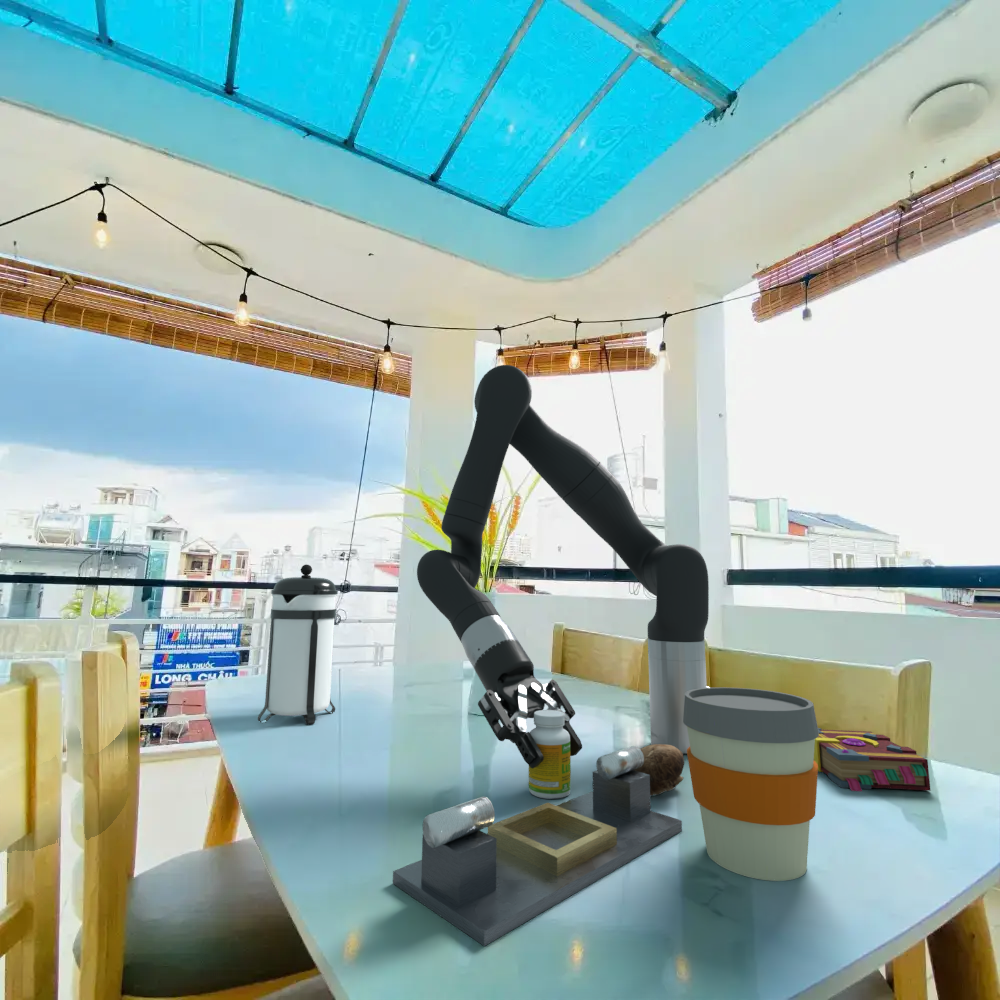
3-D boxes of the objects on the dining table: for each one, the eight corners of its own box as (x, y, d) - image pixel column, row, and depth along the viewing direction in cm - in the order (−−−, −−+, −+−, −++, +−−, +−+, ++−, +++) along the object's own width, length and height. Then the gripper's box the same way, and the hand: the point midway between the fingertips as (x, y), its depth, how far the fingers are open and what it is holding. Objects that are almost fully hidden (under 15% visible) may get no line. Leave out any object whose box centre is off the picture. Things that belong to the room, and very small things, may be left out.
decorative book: (874, 760, 88) (871, 726, 89) (939, 798, 72) (935, 757, 73) (797, 756, 89) (795, 723, 90) (844, 793, 74) (841, 752, 74)
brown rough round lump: (699, 760, 75) (672, 722, 75) (701, 804, 68) (671, 762, 68) (648, 780, 79) (622, 744, 78) (644, 824, 71) (615, 785, 71)
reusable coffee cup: (855, 867, 53) (842, 702, 56) (779, 907, 47) (768, 717, 49) (737, 820, 64) (730, 683, 66) (661, 847, 57) (656, 693, 59)
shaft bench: (594, 798, 70) (593, 736, 71) (684, 829, 62) (681, 757, 63) (387, 885, 50) (391, 795, 51) (479, 949, 41) (480, 839, 42)
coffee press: (352, 719, 110) (360, 564, 114) (266, 730, 101) (277, 562, 105) (325, 704, 124) (332, 566, 129) (247, 712, 115) (257, 564, 120)
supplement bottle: (569, 801, 69) (568, 718, 71) (525, 798, 70) (525, 716, 72) (572, 786, 74) (571, 709, 76) (531, 783, 75) (531, 707, 77)
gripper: (471, 640, 75) (535, 751, 65) (542, 634, 85) (608, 730, 75) (445, 676, 78) (503, 788, 68) (517, 667, 88) (577, 763, 78)
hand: (558, 757), depth 72 cm, fingers open, 7 cm apart
